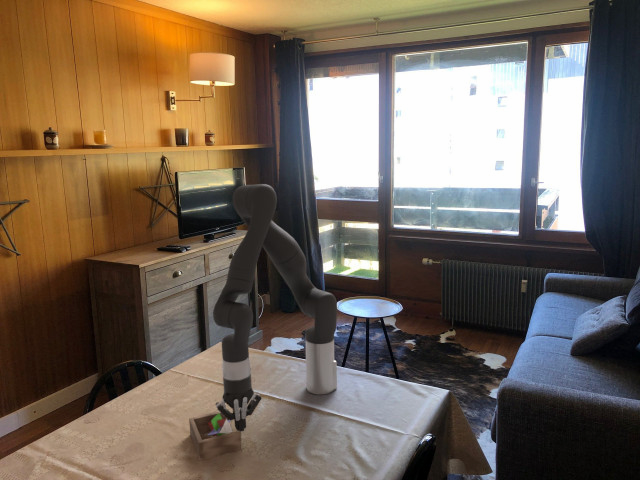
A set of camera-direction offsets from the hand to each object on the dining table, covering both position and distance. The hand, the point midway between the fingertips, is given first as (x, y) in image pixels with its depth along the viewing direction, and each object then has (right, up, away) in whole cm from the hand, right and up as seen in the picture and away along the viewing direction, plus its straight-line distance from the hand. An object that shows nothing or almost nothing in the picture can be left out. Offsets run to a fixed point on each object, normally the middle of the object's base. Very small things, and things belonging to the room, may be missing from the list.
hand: (240, 430), depth 143 cm
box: (-6, -2, -2) cm, 7 cm away
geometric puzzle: (-5, -2, -1) cm, 6 cm away
